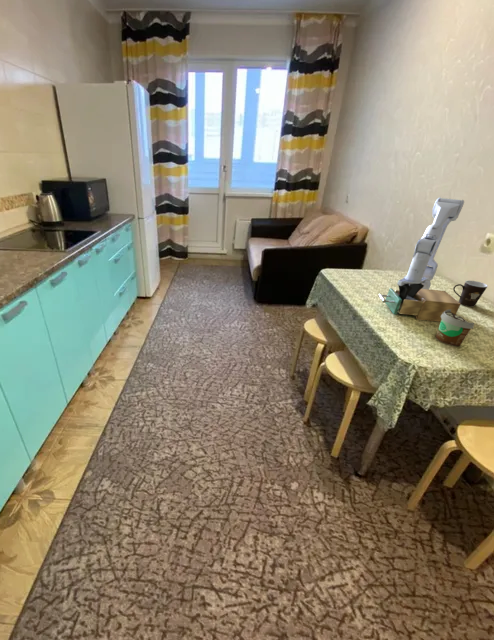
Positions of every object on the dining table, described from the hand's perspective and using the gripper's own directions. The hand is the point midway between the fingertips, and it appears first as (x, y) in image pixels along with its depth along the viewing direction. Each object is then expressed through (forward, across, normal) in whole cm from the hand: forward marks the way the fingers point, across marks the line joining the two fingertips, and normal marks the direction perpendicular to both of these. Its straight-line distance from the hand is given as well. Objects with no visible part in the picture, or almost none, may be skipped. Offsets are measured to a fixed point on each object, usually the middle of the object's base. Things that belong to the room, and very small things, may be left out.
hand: (405, 299), depth 142 cm
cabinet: (+5, -10, +6) cm, 12 cm away
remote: (+1, 0, 0) cm, 1 cm away
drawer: (+4, +1, -1) cm, 5 cm away
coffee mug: (+6, -38, +1) cm, 39 cm away
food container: (+6, +6, +25) cm, 26 cm away
